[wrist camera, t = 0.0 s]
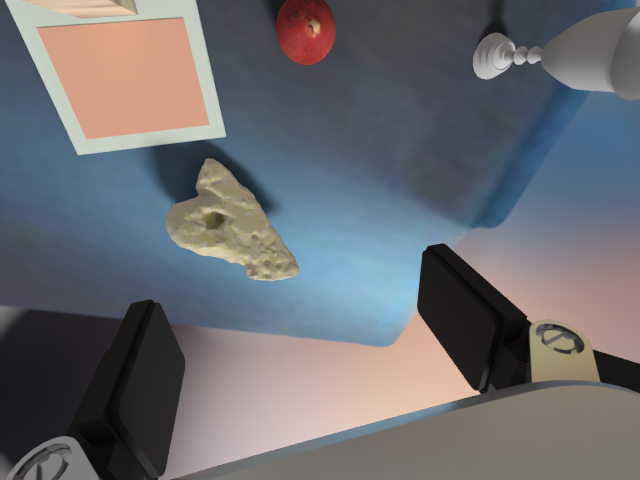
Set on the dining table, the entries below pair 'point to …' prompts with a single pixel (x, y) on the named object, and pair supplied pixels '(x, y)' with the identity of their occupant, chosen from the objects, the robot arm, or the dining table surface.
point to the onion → (305, 30)
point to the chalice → (577, 54)
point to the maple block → (89, 7)
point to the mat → (125, 74)
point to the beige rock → (230, 226)
